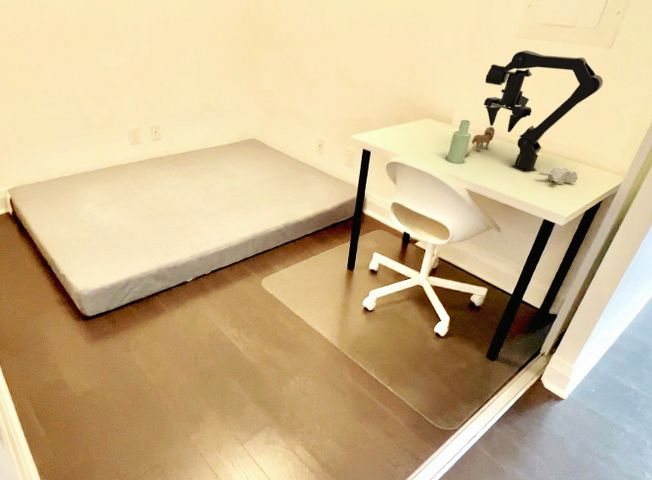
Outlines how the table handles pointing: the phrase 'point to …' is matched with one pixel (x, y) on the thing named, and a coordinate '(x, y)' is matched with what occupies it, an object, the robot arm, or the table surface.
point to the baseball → (469, 148)
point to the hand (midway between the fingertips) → (500, 128)
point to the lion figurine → (484, 138)
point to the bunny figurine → (561, 175)
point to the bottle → (459, 143)
